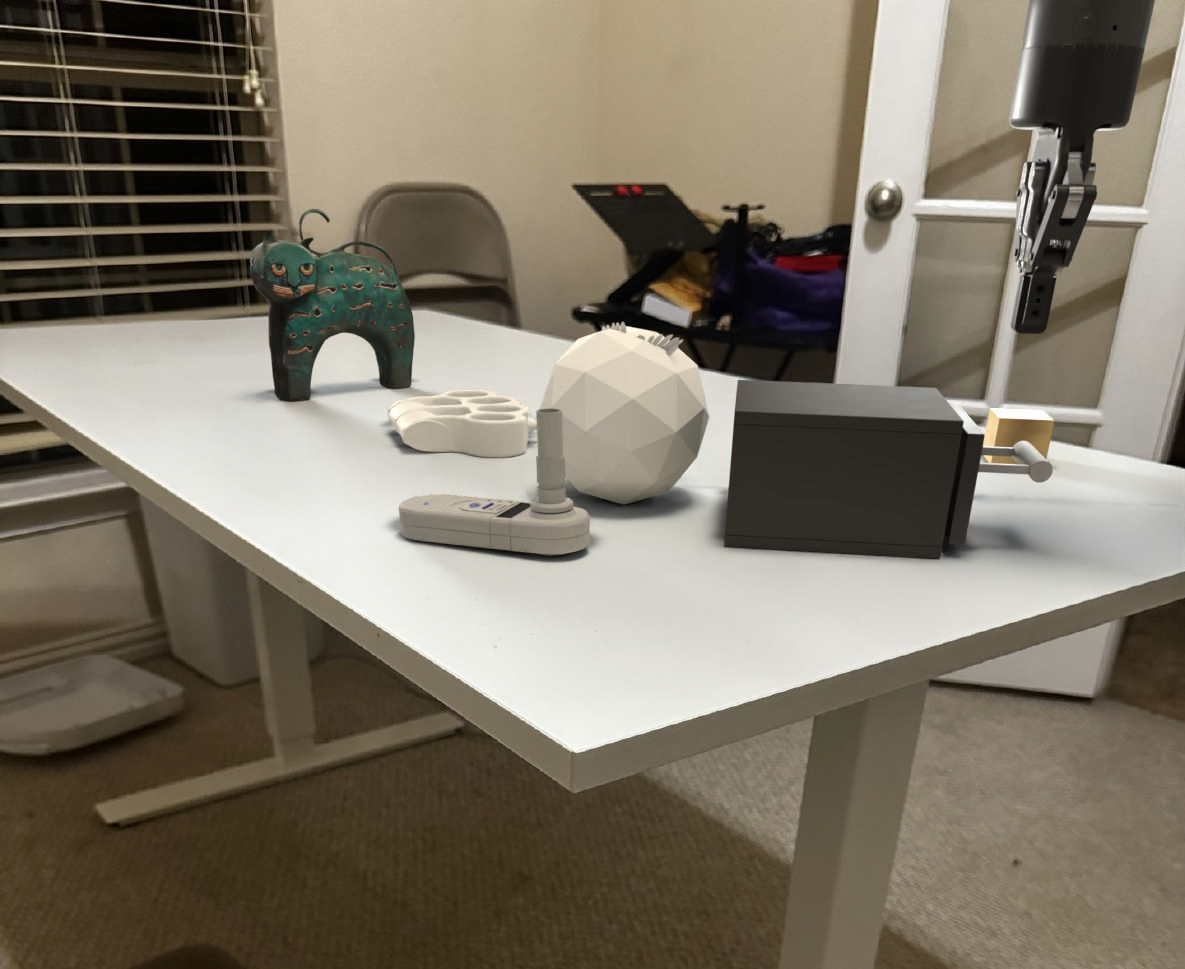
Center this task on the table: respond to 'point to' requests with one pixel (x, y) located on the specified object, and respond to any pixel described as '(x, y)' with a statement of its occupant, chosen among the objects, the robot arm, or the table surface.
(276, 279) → the ceramic cat
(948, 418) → the dark grey box
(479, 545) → the electronic device
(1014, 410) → the block
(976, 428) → the open drawer
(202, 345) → the table surface
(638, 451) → the geodesic sphere
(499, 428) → the white tray with wells
